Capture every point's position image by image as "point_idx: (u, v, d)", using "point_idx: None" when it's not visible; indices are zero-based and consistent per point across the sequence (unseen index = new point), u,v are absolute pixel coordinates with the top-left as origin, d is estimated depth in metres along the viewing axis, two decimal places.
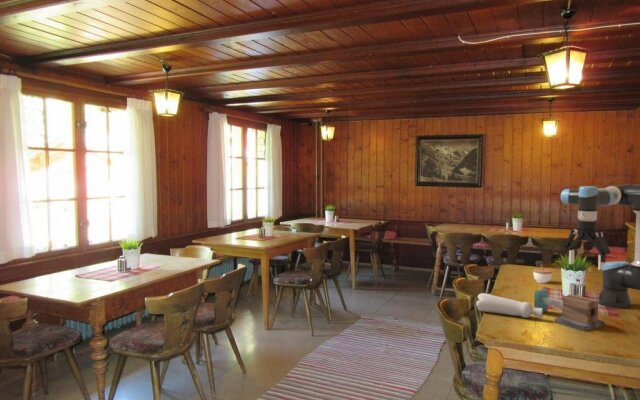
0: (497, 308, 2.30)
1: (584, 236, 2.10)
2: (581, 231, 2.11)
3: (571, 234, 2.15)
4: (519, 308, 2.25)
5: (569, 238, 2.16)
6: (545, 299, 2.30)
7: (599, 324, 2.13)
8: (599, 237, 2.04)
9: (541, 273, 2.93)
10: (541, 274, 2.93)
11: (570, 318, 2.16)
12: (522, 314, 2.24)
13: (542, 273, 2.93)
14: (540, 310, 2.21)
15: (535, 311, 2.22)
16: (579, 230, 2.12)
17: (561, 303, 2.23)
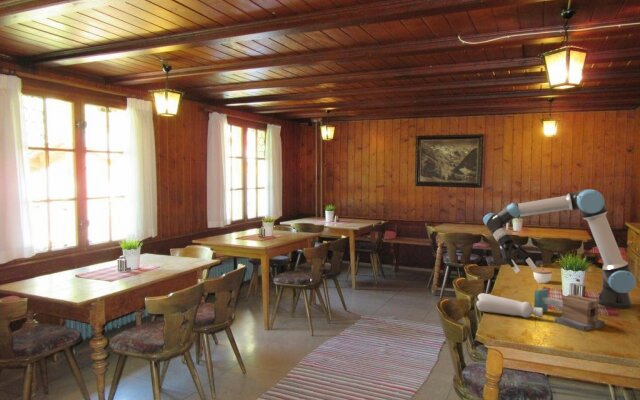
0: (497, 308, 2.30)
1: None
2: None
3: None
4: (519, 308, 2.25)
5: None
6: (545, 299, 2.30)
7: (599, 324, 2.13)
8: None
9: (541, 273, 2.93)
10: (541, 274, 2.93)
11: (570, 318, 2.16)
12: (522, 314, 2.24)
13: (542, 273, 2.93)
14: (540, 310, 2.21)
15: (535, 311, 2.22)
16: None
17: (561, 303, 2.23)
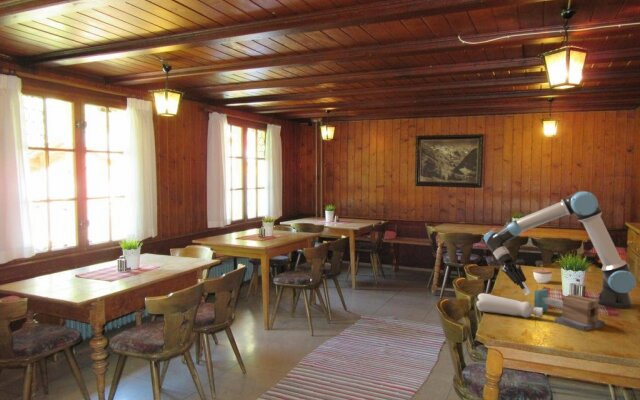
0: (497, 308, 2.30)
1: None
2: None
3: None
4: (519, 308, 2.25)
5: None
6: (545, 299, 2.30)
7: (599, 324, 2.13)
8: None
9: (541, 273, 2.93)
10: (541, 274, 2.93)
11: (570, 318, 2.16)
12: (522, 314, 2.24)
13: (542, 273, 2.93)
14: (540, 310, 2.22)
15: (535, 311, 2.22)
16: None
17: (561, 303, 2.23)
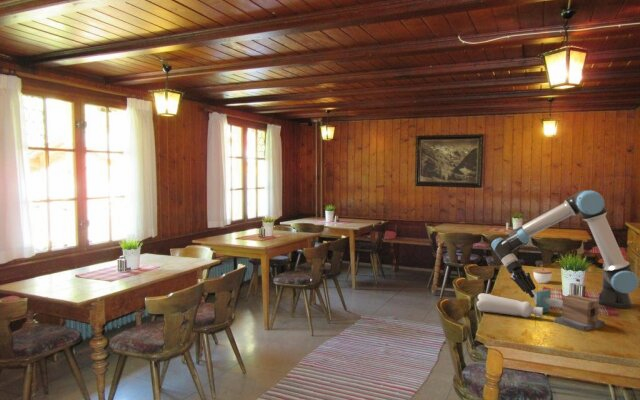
0: (498, 308, 2.30)
1: None
2: None
3: None
4: (520, 308, 2.25)
5: None
6: (547, 300, 2.29)
7: (599, 324, 2.13)
8: None
9: (541, 273, 2.93)
10: (541, 274, 2.93)
11: (570, 318, 2.16)
12: (523, 314, 2.24)
13: (542, 273, 2.93)
14: (541, 309, 2.22)
15: (536, 310, 2.23)
16: None
17: None
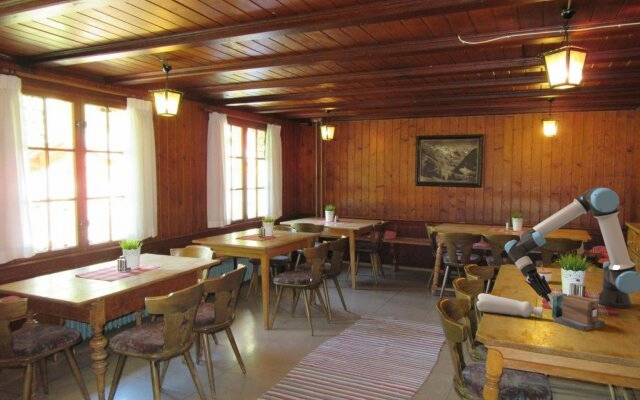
0: (498, 308, 2.30)
1: None
2: None
3: None
4: (520, 308, 2.25)
5: None
6: None
7: (599, 324, 2.13)
8: None
9: (541, 273, 2.93)
10: (541, 274, 2.93)
11: (570, 318, 2.16)
12: (523, 314, 2.24)
13: (542, 273, 2.93)
14: (541, 309, 2.22)
15: (536, 310, 2.23)
16: None
17: None
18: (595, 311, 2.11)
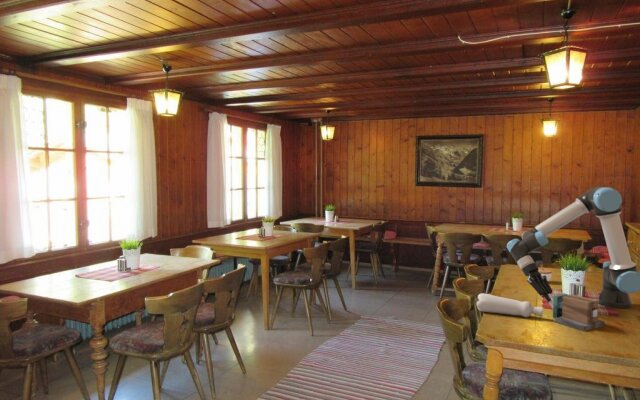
0: (498, 308, 2.30)
1: None
2: None
3: None
4: (520, 308, 2.25)
5: None
6: None
7: (599, 324, 2.13)
8: None
9: (541, 273, 2.93)
10: (541, 274, 2.93)
11: (570, 318, 2.16)
12: (523, 313, 2.25)
13: (542, 273, 2.93)
14: (541, 309, 2.22)
15: (536, 310, 2.23)
16: None
17: None
18: (596, 311, 2.10)
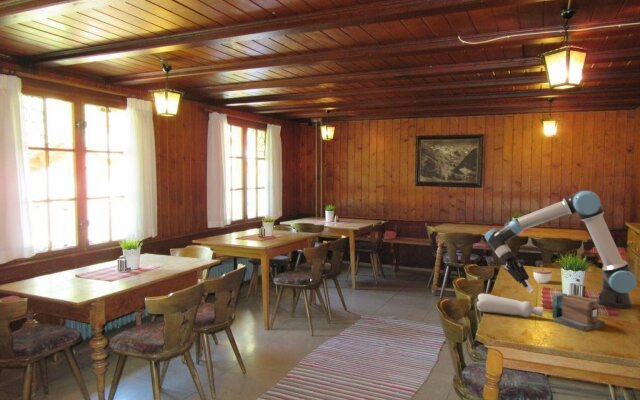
0: (498, 308, 2.30)
1: None
2: None
3: None
4: (520, 308, 2.25)
5: None
6: None
7: (599, 324, 2.13)
8: None
9: (541, 273, 2.93)
10: (541, 274, 2.93)
11: (570, 318, 2.16)
12: (523, 313, 2.25)
13: (542, 273, 2.93)
14: (541, 309, 2.23)
15: (536, 310, 2.23)
16: None
17: None
18: (595, 311, 2.11)
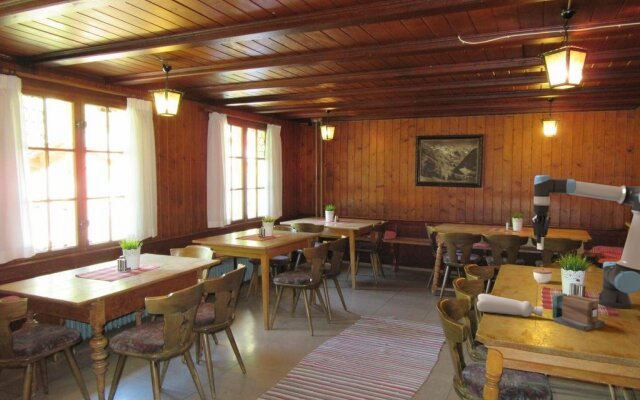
0: (498, 308, 2.29)
1: None
2: None
3: None
4: (520, 307, 2.26)
5: None
6: None
7: (599, 324, 2.13)
8: None
9: (541, 273, 2.93)
10: (541, 274, 2.93)
11: (570, 318, 2.16)
12: (523, 313, 2.25)
13: (542, 273, 2.93)
14: (541, 309, 2.23)
15: (536, 310, 2.24)
16: None
17: None
18: (595, 311, 2.11)
